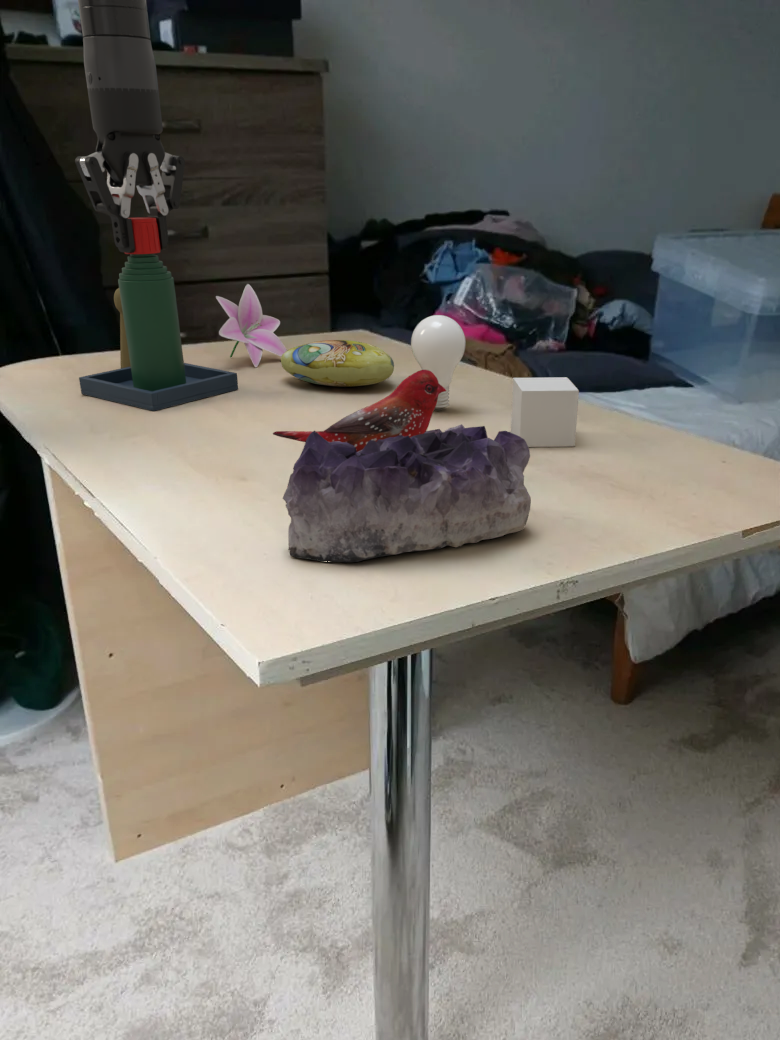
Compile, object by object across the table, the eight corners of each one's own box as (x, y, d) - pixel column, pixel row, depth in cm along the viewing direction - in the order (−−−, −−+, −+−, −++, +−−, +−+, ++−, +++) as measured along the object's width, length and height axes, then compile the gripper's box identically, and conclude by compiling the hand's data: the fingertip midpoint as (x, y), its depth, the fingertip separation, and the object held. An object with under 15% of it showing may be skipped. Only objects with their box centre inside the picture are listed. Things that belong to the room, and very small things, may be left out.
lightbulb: (472, 406, 114) (474, 313, 109) (450, 419, 109) (452, 321, 104) (425, 400, 117) (425, 309, 112) (402, 412, 111) (401, 317, 106)
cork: (161, 363, 134) (151, 282, 129) (169, 371, 129) (159, 288, 124) (117, 366, 131) (105, 284, 127) (124, 375, 127) (112, 290, 122)
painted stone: (376, 379, 116) (271, 325, 117) (362, 429, 121) (263, 377, 123) (413, 345, 123) (315, 295, 125) (399, 393, 129) (305, 345, 130)
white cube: (563, 430, 105) (567, 377, 103) (574, 446, 100) (579, 390, 97) (510, 431, 105) (512, 377, 102) (519, 447, 99) (522, 390, 97)
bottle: (156, 394, 114) (133, 226, 106) (123, 388, 118) (98, 225, 110) (197, 385, 119) (178, 224, 111) (163, 379, 122) (143, 222, 114)
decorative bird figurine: (453, 473, 92) (454, 369, 87) (283, 505, 83) (276, 392, 79) (437, 465, 94) (438, 364, 89) (271, 495, 85) (262, 385, 81)
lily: (208, 378, 130) (232, 318, 125) (186, 331, 137) (208, 272, 132) (285, 394, 138) (311, 338, 133) (260, 348, 144) (284, 294, 139)
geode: (322, 591, 67) (302, 453, 64) (271, 554, 77) (252, 433, 74) (557, 532, 76) (551, 408, 73) (484, 505, 86) (476, 395, 82)
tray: (153, 411, 111) (151, 393, 110) (81, 394, 117) (78, 377, 116) (238, 389, 121) (237, 372, 120) (167, 374, 127) (165, 359, 127)
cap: (145, 250, 114) (140, 217, 113) (168, 252, 112) (163, 217, 111) (116, 253, 111) (111, 218, 110) (140, 254, 109) (135, 219, 108)
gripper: (89, 82, 97) (113, 258, 104) (195, 88, 107) (210, 248, 115) (45, 83, 101) (71, 253, 108) (152, 89, 111) (169, 244, 119)
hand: (143, 249), depth 112 cm, fingers closed on cap, 4 cm apart
